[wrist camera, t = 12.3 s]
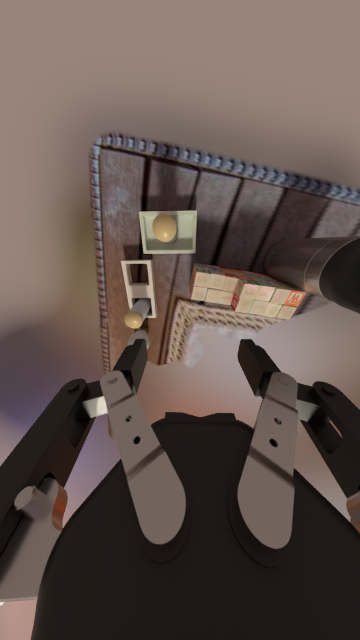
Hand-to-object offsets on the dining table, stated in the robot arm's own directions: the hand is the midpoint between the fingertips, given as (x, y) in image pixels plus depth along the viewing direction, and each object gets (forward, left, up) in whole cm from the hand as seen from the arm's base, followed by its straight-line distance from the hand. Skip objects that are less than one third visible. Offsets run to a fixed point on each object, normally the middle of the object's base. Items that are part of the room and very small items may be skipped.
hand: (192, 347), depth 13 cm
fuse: (+12, +7, -30) cm, 33 cm away
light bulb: (+13, +16, -30) cm, 37 cm away
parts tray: (+4, -10, -30) cm, 32 cm away
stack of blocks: (-12, +1, -30) cm, 33 cm away
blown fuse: (+4, -10, -30) cm, 31 cm away
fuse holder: (+12, +3, -30) cm, 33 cm away
